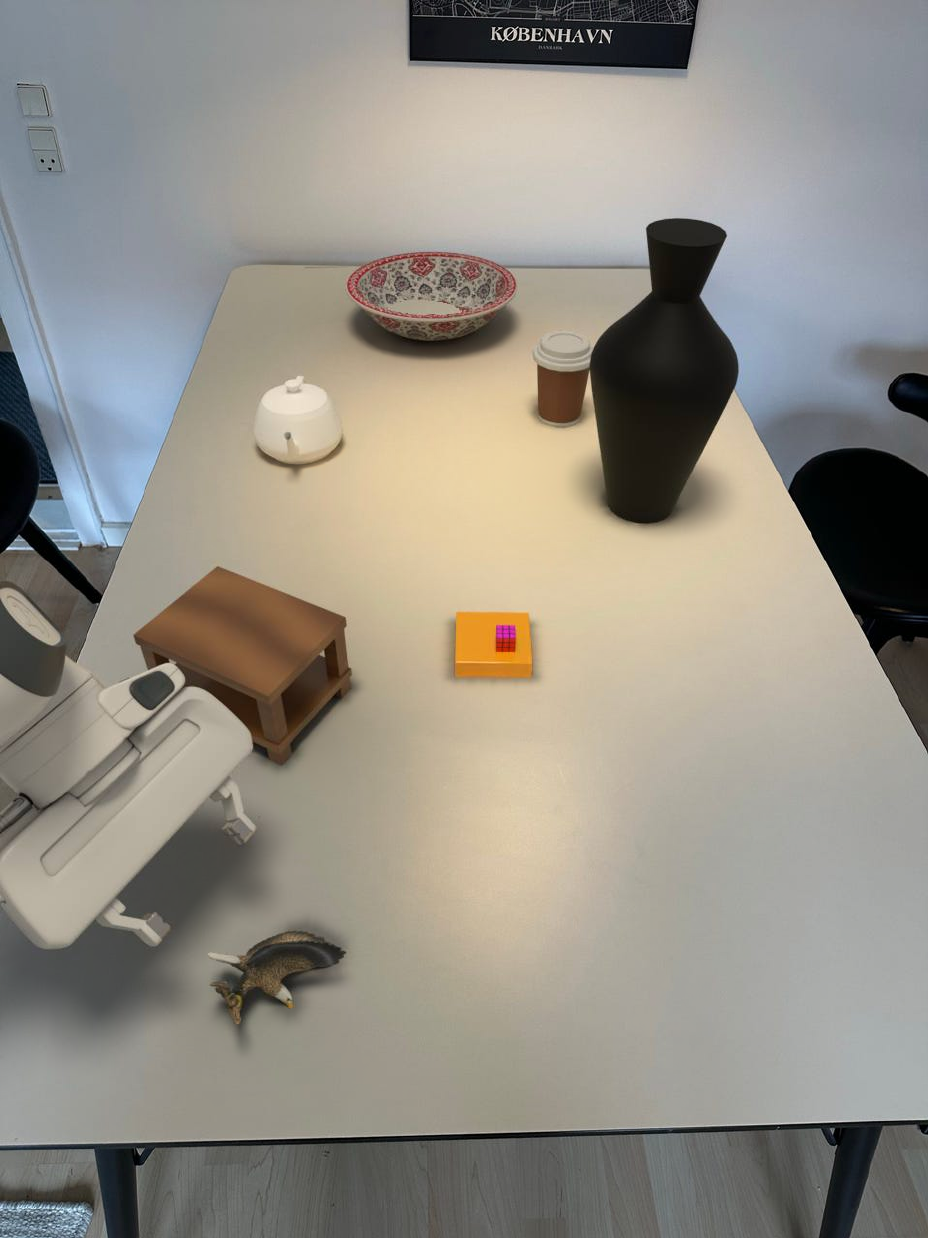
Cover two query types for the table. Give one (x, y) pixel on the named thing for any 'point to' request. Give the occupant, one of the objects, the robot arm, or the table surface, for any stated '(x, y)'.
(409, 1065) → the table surface
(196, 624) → the shelf
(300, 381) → the teapot
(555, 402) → the coffee cup
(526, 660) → the orange block
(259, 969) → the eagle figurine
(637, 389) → the vase
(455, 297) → the ceramic bowl
